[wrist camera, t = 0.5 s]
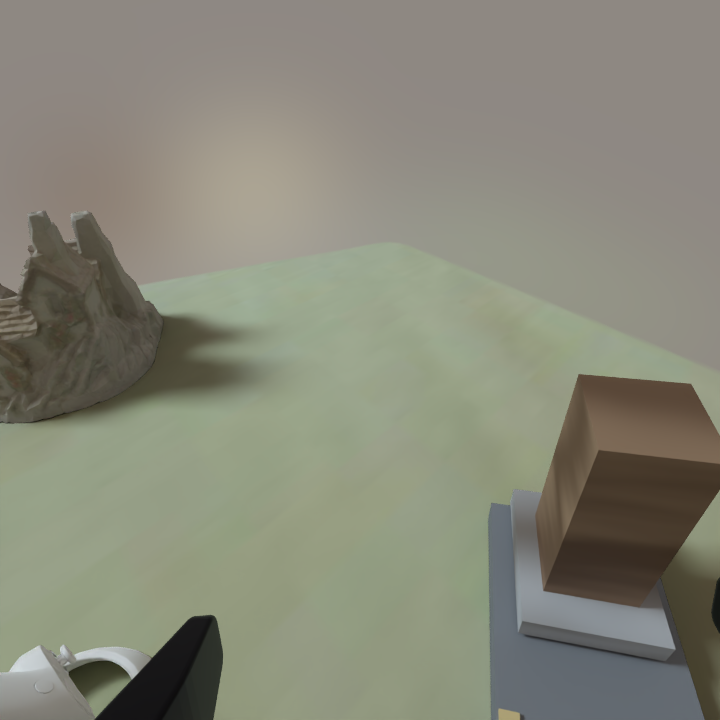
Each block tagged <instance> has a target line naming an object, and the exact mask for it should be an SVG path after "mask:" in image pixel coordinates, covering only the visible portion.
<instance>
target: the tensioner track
mask: <svg viewBox="0 0 720 720" xmlns="http://www.w3.org/2000/svg"><path fill="white" fill-rule="evenodd" d="M488 524H489V597H490V669H491V720H705V719H704V716H703V713H702V710H701V706H700V703H699V700H698V697H697V694H696V690H695V687H694V684H693V681H692V678H691V674H690V671H689V668H688V665H687V661H686V658H685V655H684V652H683V649H682V645H681V642H680V639H679V636H678V633H677V629H676V626H675V623H674V620H673V617H672V613H671V610H670V607H669V604H668V601H667V597H666V594H665V591H664V588H663V585H662V581H661V578H659V580H658V581H657V582H656V586H657V589H658V592H659V596H660V599H661V602H662V606H663V609H664V612H665V616H666V619H667V622H668V626H669V629H670V632H671V636H672V639H673V642H674V645H675V649H676V650H675V651H674V652H673V653H672V654H671V656H670V657H669V658H668V659H667V660H666V661H661V660H656V659H651V658H646V657H640V656H635V655H630V654H625V653H620V652H614V651H609V650H604V649H599V648H593V647H588V646H583V645H578V644H573V643H567V642H562V641H557V640H552V639H547V638H541V637H536V636H531V635H526V634H521V633H518V624H517V607H516V590H515V573H514V555H513V538H512V521H511V506H510V505H503V504H496V503H491V508H490V513H489V518H488Z"/></svg>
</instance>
